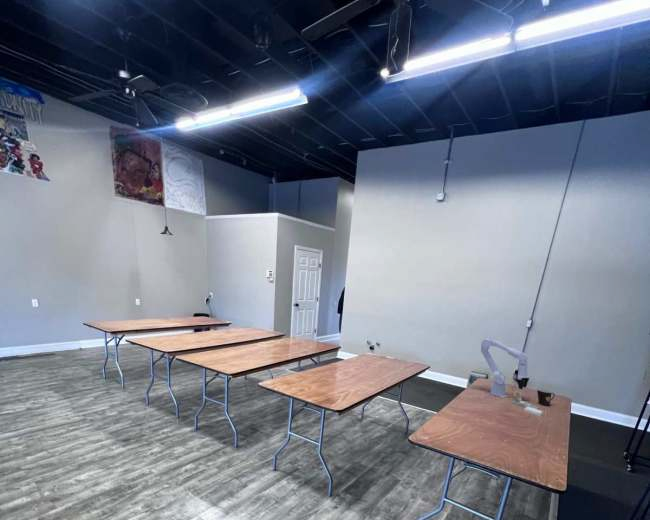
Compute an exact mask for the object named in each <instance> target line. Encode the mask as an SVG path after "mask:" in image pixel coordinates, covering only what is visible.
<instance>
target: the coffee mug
mask: <svg viewBox="0 0 650 520" xmlns="http://www.w3.org/2000/svg"><path fill="white" fill-rule="evenodd" d="M536 391H537V399H538V404H539V405H541V406H543V407H550V405H551V401H552V400H553V399H554V398H555V396H556V395H555V393H554V392H552V391H551V390H548V389H545V388H537V389H536ZM552 394H553V395H552Z"/></svg>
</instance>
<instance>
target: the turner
mask: <svg viewBox="0 0 650 520" xmlns="http://www.w3.org/2000/svg"><path fill="white" fill-rule="evenodd" d="M513 393H514V394H513V396H514V398H513V400H514V401H515V402H518V403H519V404H522V405H525V406H528V407H530V406H531V405H533V404H532V403H530V402H527V401H523V400H522V399H523V396H522V395H523V394H522V393H523V392H520V391H517V390H515V391H514V392H513Z"/></svg>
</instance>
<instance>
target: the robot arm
mask: <svg viewBox="0 0 650 520" xmlns="http://www.w3.org/2000/svg"><path fill="white" fill-rule="evenodd" d="M490 347H497V348H499V349H501V350H503V351H505V352H506V353H507V355H509V356H512V357H514V358H515V359H518V363H517V367H518V368H517V369H518V371H517V377H516V378H515V381H516V382H517V386H518V389H519V390H523V388H527V385H528V383H529V381H530V376H528V355H527V354H526V353H525V352H522V351H521V350H520V351H519V350H518V349H517V348H515V347H512V346H511V347H508V346H506V345H504V344H503V343H501V342H499V341H497V340H495V339H493V338H490V337H485V338H483V340H482V341H481V344H480V352H481V355H482V356H483V358H484V359H485V361H486V363H487V364H488V367H489V369H490V370H491V371H492V374H493V377H494V381H492V382H491V385H490V395H493V396H496V397H499V398H502V399H505V398H507V397H508V395H506V387H507V386H506V383H505V382H506V376H505V375H504V374H503V373H502V371H500V369H499V368H498V366H497V364H496V363H495V360H494V359H493V357H492V355H491V354H490V352H489V349H490Z"/></svg>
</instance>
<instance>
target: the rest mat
mask: <svg viewBox="0 0 650 520" xmlns="http://www.w3.org/2000/svg"><path fill="white" fill-rule="evenodd" d="M510 403H511V404H515V405H518V406H521V407H525V408H526V407H527V406H525V405H522V404H519V403H518V402H515V401H514V399H512V400H510ZM530 407H531V408H535V409H538V410H540V406H537V405H534V404H532V405H531V406H530Z"/></svg>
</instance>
